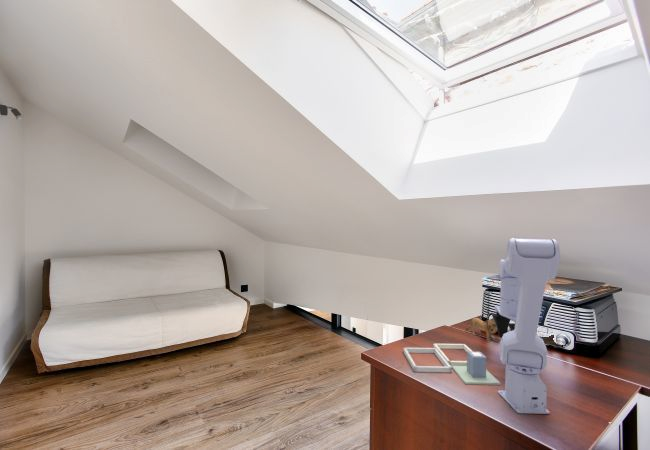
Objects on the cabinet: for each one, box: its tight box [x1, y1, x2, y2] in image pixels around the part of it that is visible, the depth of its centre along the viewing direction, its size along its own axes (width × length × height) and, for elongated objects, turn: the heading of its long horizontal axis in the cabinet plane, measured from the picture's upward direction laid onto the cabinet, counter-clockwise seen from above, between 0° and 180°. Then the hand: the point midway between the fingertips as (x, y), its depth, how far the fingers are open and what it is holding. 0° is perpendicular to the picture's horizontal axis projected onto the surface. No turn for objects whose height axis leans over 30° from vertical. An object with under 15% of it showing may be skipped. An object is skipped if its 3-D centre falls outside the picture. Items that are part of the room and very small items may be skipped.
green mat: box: [452, 366, 501, 386], centre depth 96 cm, size 10×10×1 cm
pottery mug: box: [536, 334, 555, 345], centre depth 121 cm, size 12×10×8 cm
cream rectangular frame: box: [432, 343, 474, 367], centre depth 109 cm, size 15×12×2 cm
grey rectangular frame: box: [402, 347, 453, 374], centre depth 105 cm, size 15×12×2 cm
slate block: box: [466, 351, 488, 377], centre depth 96 cm, size 4×4×6 cm
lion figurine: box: [465, 317, 498, 342], centre depth 128 cm, size 15×5×9 cm, turn 38°
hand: (509, 341), depth 99 cm, fingers open, 7 cm apart
